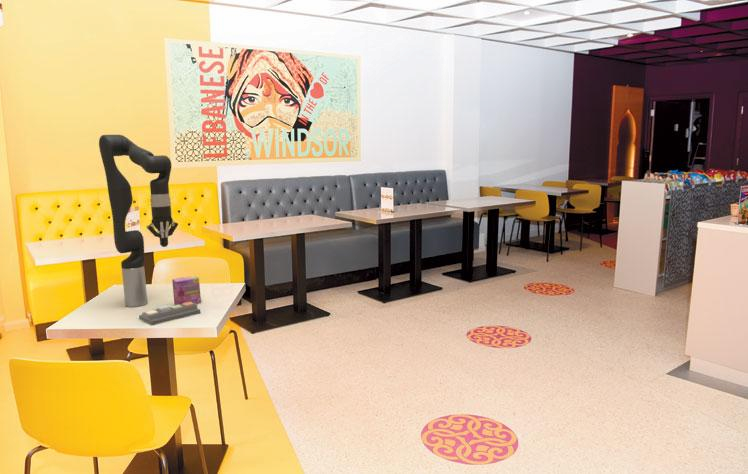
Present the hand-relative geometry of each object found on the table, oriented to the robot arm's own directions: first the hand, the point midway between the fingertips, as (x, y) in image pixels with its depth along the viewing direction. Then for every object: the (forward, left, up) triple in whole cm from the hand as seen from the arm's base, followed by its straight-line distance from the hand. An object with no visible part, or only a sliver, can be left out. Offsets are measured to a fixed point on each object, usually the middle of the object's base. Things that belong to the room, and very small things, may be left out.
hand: (164, 246), depth 232 cm
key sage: (+4, +1, -27) cm, 27 cm away
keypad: (+4, -2, -29) cm, 29 cm away
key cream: (+4, -9, -27) cm, 29 cm away
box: (-8, +12, -29) cm, 32 cm away
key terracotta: (+4, +6, -27) cm, 28 cm away
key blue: (+4, -4, -26) cm, 27 cm away
